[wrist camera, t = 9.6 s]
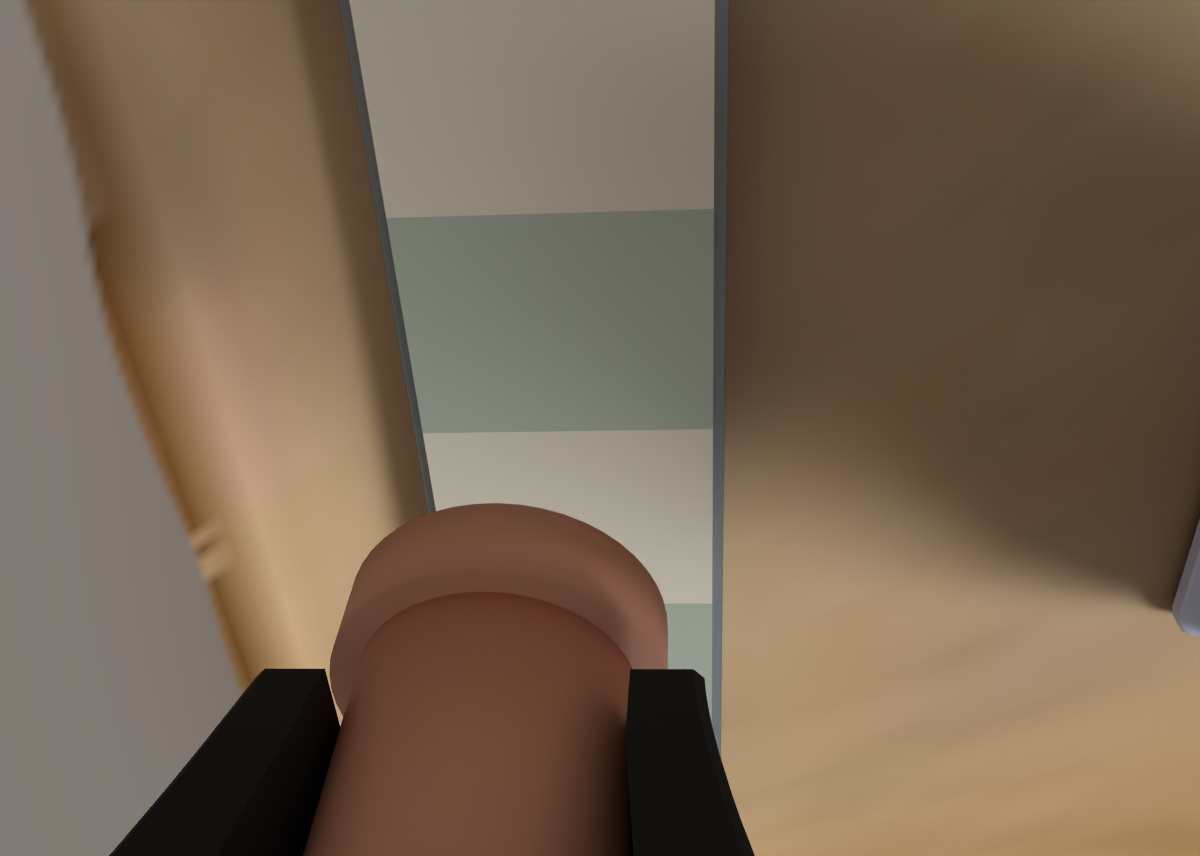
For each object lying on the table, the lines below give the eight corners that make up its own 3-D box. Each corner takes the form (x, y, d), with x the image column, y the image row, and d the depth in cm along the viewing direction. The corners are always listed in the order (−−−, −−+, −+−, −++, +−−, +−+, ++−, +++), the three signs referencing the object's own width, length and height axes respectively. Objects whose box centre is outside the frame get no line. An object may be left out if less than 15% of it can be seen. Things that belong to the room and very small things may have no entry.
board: (718, 823, 27) (719, 867, 26) (493, 820, 27) (487, 864, 26) (730, -482, 13) (735, -494, 12) (284, -450, 14) (254, -458, 13)
